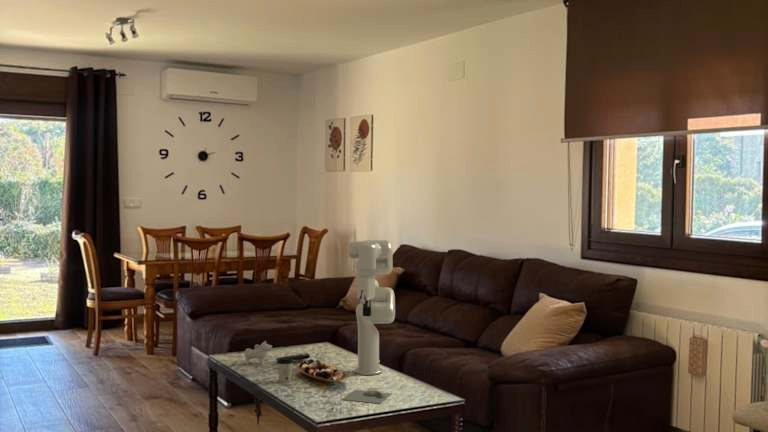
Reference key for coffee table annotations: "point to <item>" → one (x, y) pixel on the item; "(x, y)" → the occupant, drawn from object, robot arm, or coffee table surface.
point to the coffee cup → (285, 369)
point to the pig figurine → (257, 352)
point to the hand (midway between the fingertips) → (367, 315)
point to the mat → (365, 397)
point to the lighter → (375, 392)
